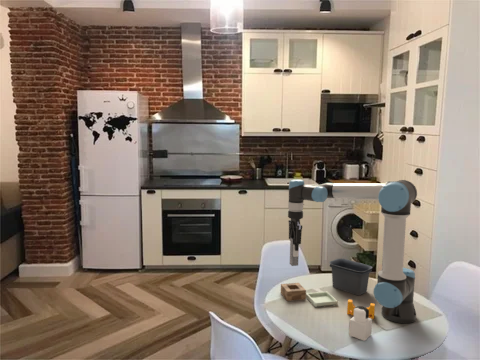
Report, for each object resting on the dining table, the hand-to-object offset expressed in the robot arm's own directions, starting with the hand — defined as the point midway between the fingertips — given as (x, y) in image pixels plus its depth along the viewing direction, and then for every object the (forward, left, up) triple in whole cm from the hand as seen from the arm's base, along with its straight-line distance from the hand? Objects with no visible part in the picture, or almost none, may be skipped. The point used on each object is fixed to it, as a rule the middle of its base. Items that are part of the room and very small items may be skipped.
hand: (294, 255), depth 203 cm
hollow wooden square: (0, 0, -22) cm, 22 cm away
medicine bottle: (-43, -14, -22) cm, 50 cm away
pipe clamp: (-26, -24, -23) cm, 42 cm away
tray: (-9, -12, -22) cm, 27 cm away
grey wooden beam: (0, 0, -5) cm, 5 cm away
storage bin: (+3, -34, -22) cm, 41 cm away
